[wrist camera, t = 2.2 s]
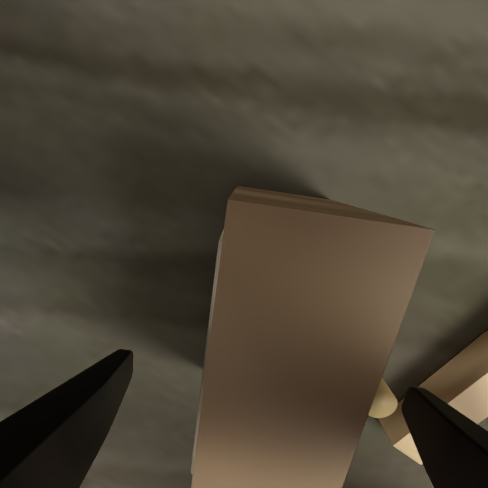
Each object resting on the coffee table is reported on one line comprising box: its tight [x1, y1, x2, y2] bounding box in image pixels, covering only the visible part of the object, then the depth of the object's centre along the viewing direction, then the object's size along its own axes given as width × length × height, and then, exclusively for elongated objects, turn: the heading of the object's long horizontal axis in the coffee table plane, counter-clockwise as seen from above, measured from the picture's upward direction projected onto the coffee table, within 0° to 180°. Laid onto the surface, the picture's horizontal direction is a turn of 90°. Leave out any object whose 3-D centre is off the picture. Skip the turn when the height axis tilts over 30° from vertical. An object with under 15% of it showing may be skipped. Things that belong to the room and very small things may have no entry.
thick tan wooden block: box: [190, 186, 435, 488], centre depth 10 cm, size 11×5×7 cm, turn 172°
